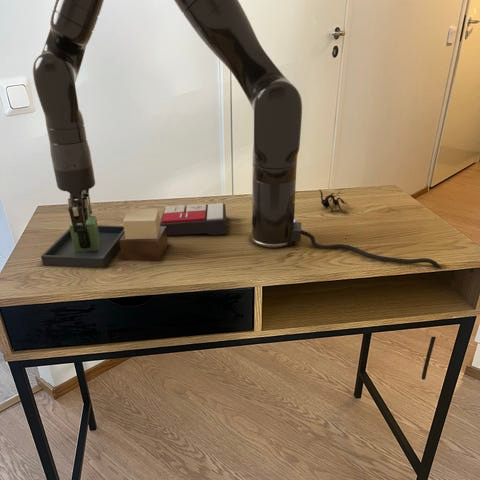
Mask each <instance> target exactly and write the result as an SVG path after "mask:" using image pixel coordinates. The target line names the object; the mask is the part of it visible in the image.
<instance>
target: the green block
mask: <svg viewBox="0 0 480 480" xmlns="http://www.w3.org/2000/svg"><path fill="white" fill-rule="evenodd" d="M87 222H88V227H89V230H88V232H89V237H90V243H91V247H90V248H81V247H80V244H79V239H78V234H77V233H75V232H74V230H73V225H72V221H71V220H70V223H69V228H70V231H71V236H72V241H73V246H74V251H75V252H84V251H98V250H99V245H100V236H99V230H98V225H99V224H98V220H97V216H96V215H91V216H89V220H88V221H87ZM78 226H83V225H82V223H78Z"/></svg>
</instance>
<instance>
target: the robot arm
mask: <svg viewBox="0 0 480 480" xmlns="http://www.w3.org/2000/svg"><path fill="white" fill-rule="evenodd" d="M104 1H105V0H55V3H54V6H53V10H52V14H51V16H50V22H49V24H50V29H49V31H48V35H47V37H46V40H45V43H44V46H43V48H42V51H41V54H39V55H38V56H37V57H36V58H35V60H34V62H33V65H32V66H33V67H32V75H33V76H32V77H33V82H34V86H35V91H36V93H37V97H38V99H39V103H40V106H41V109H42V112H43V115H44V120H45V126H46V131H47V137H48V141H49V149H50V150H49V151H50V152H49V153H50V157H51V162H52V168H53V172H54V177H55V182H56V187H57V188H58V190H60V191H61V192H67V193H69V198H67V204H68V209H67V211H68V213H69V216H70V217H69V218H70V222H71V221H72V225H73V230H74V232H75V233H77V234H78V239H79V244H80V247H81V248H90V247H91V243H90V237H89V232H88V230H89V227H88V222H87V221H88V220H89V216H92V214H93V210H92V204H91V196H90V195H91V194H90V189H92V188H94V187H95V185H96V178H95V172H94V166H93V159H92V154H91V149H90V146H89V142H88V138H87V132H86V126H85V121H84V116H83V113H82V111H81V110H80V107H79V101H78V94H77V88H76V82H77V79H78V76H79V72H80V70H81V66H82V64H83V59H84V56H85V53H86V49H87V46H88V44H89V42H90V40H91V38H92V35H93V34H94V30H95V28H96V26H97V22H98V20H99V16H100V14H101V11H102V8H103V4H104ZM173 1H174V3H175V4H176V6H177V8H178V9H179V11H180V13H182V15H183V16H184V18H185V19H186V21H187V22H188V23H189V24H190V26H191V27H192V29H193V30H194V32H195V33H196V34H197V35H198V36H199V38H200V39H201V41H202V42H203V43H204V45H206V47H208V49H209V50H210V51H211V52H212V53H213V55H215V56H216V57H217V58H218V59H219V60H220V61H221V62H222V63H223V65H225V66H226V67H227V69H228V70H229V71H230V72H231V74H232V75H233V76H234V78H235V80H236V81H237V83H238V84H239V87H240V88H241V89H242V91H243V93H244V95H245V96H246V99H247V100H248V102H249V104H250V106H251V109H252V111H253V147H252V187H251V189H252V193H251V195H252V197H251V198H252V201H251V202H252V205H251V207H252V208H251V210H252V211H251V212H252V213H251V226H252V227H251V242H252V243H254V245H257V246H259V247H263V248H271V249H275V248H277V249H278V248H284V247H287V246H289V247H290V246H293V245H294V242H301V239H302V236H305V237H307V238H309V240H310V242H311V243H310V244H311V245H312V246H313V247H315V248H317V249H321V250H335V249H343V250H349V251H352V252H354V253H357V254H359V255H361V256H363V257H366V258H370V259H373V260H378V261H382V262H390V263H397V264H398V263H399V264H405V265H406V264H412V265H413V264H421V263H426V264H430V265H432V266H434V268H436V269H442V267H441V265H440V264H439V262H437V261H436V260H434V259H431V258H427V257H422V258H421V257H420V258H411V259H409V258H399V257H391V256H390V257H389V256H383V255H378V254H374V253H370V252H367V251H365V250H362V249H360V248H358V247H355V246H353V245H350V244H345V243H344V244H343V243H336V244H327V245H326V244H325V245H322V244H320V243H317V242H316V239H315V236H314V235H313V234H311V233H310V232H308V231H305V230H303V229H302V222H301V221H296V219H295V212H296V211H295V208H296V186H297V168H298V167H297V166H298V156H299V153H300V147H301V134H302V133H301V132H302V118H303V101H302V97H301V93H300V92H299V90H298V89H297V87H296V86H295V85H294V84H293V83H292V82H291V81H290V80H289V79H288V78H287V77H286V76H285V75H284V74H283V73H282V72H281V70H280V69H279V68H278V67H277V65H276V64H275V63H274V61H273V60H272V59H271V58H270V56H269V55H268V54H267V52H266V50H264V48H263V47H262V45H261V44H260V43H261V42H260V41H259V39H258V38H257V37H258V36H257V35H256V32H255V31H254V28H253V26H252V24H251V22H250V20H249V18H248V16H247V14H246V12H245V10H244V8H243V6H242V4H241V2H240V1H239V0H173ZM78 223H82V225H83V226H78ZM436 339H437V337H436V336H431V337H430V341H429V345H428V347H427V348H428V349H427V353H426V356H425V360H424V363H423V369H422V373H421V380H424V381H425V380H426V379H427V373H428V369H429V366H430V365H429V364H430V361H431V357H432V353H433V349H434V346H435V341H436Z"/></svg>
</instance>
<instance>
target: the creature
mask: <svg viewBox="0 0 480 480" xmlns="http://www.w3.org/2000/svg"><path fill="white" fill-rule="evenodd" d="M318 191H319V192H320V200H321V202H320V203H321V205H322V207H324V208H325V209H326V210H327V209H328V208H330V211H331V213H334V212H335V210H333V207H335V206H337V207H338V209H337V211H339V212H343V213H346V211H345V210H344V209H343V208H341V206H340V202H341V204H343V205H347V206H349V204H348V203H347V202H346V201H345V200H344V199H342V198H341V197H339V196H338V194H340V193H341V191H342V190H340V191H338V194H336V195H334V194H335V193H334V192H333V193H331V194H329V195H326V196H325V198H323V197H324V196H323V195H324V193H323V192H322V190H321V189H318ZM336 197H337V198H336ZM330 203H332V204H333V206H331V204H330Z"/></svg>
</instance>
